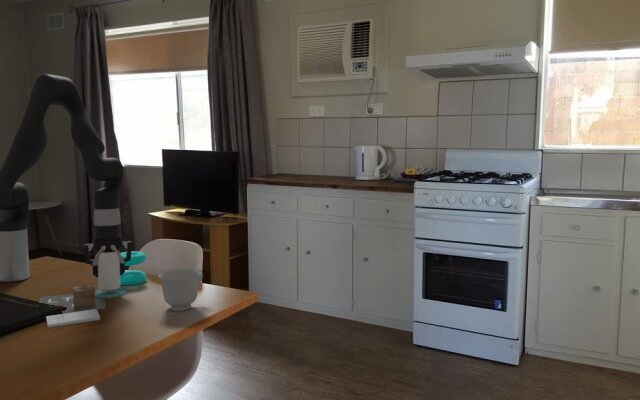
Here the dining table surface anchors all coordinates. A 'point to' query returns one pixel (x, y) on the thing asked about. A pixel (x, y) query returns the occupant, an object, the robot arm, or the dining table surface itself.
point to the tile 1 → (57, 299)
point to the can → (108, 271)
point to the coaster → (110, 293)
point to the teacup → (180, 287)
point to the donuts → (133, 275)
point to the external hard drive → (72, 318)
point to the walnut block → (84, 296)
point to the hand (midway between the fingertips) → (109, 275)
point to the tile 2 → (98, 302)
